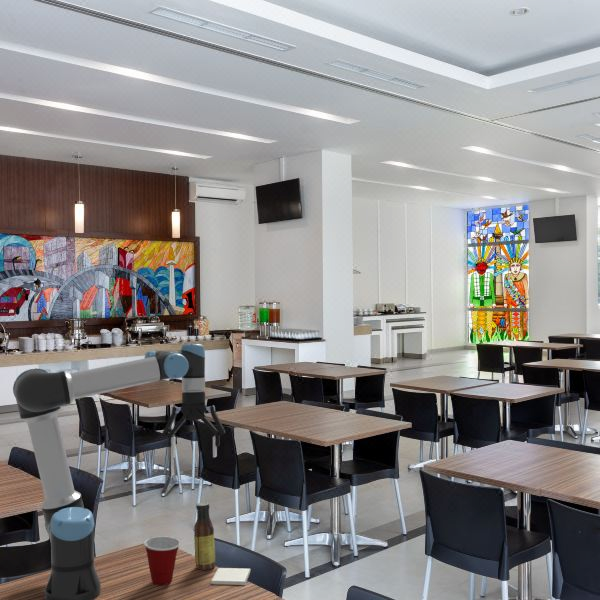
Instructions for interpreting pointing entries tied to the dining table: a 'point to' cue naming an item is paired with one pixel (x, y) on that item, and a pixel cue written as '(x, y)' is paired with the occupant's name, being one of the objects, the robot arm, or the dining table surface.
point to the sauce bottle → (204, 538)
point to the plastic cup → (161, 558)
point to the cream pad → (231, 576)
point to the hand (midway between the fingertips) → (194, 457)
